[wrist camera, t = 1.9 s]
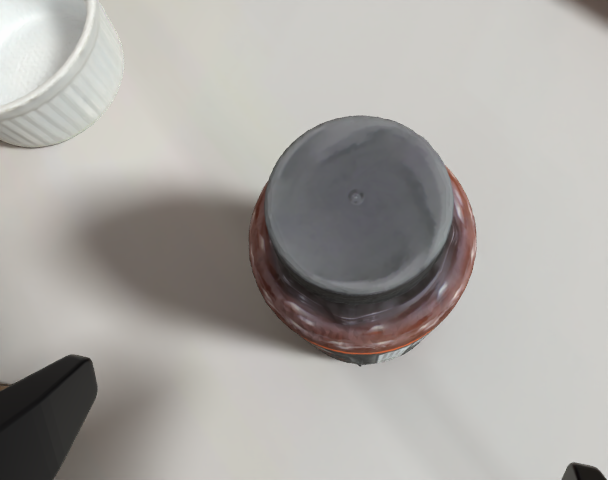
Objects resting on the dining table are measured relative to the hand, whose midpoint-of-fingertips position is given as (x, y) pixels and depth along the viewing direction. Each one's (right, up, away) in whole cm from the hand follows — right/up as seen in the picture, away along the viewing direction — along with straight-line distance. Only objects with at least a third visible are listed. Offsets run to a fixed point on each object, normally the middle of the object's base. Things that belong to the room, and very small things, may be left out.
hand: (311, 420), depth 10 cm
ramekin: (-13, +11, +17) cm, 24 cm away
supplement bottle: (+2, +1, +12) cm, 12 cm away
